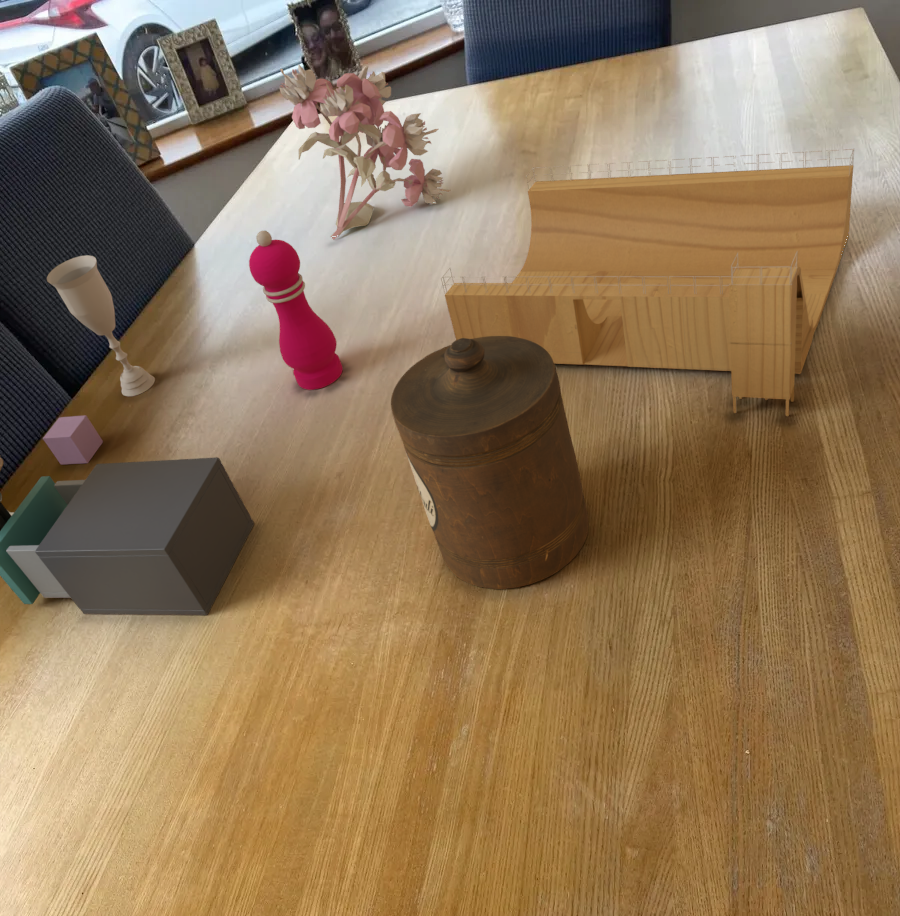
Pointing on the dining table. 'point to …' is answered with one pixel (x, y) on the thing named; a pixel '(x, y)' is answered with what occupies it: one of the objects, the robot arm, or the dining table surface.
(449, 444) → the wooden container
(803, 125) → the dining table surface
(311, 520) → the dining table surface
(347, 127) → the flower
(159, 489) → the cabinet
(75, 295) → the chalice
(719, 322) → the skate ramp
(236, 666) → the dining table surface
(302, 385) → the pepper mill
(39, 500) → the drawer
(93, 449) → the pink cube
